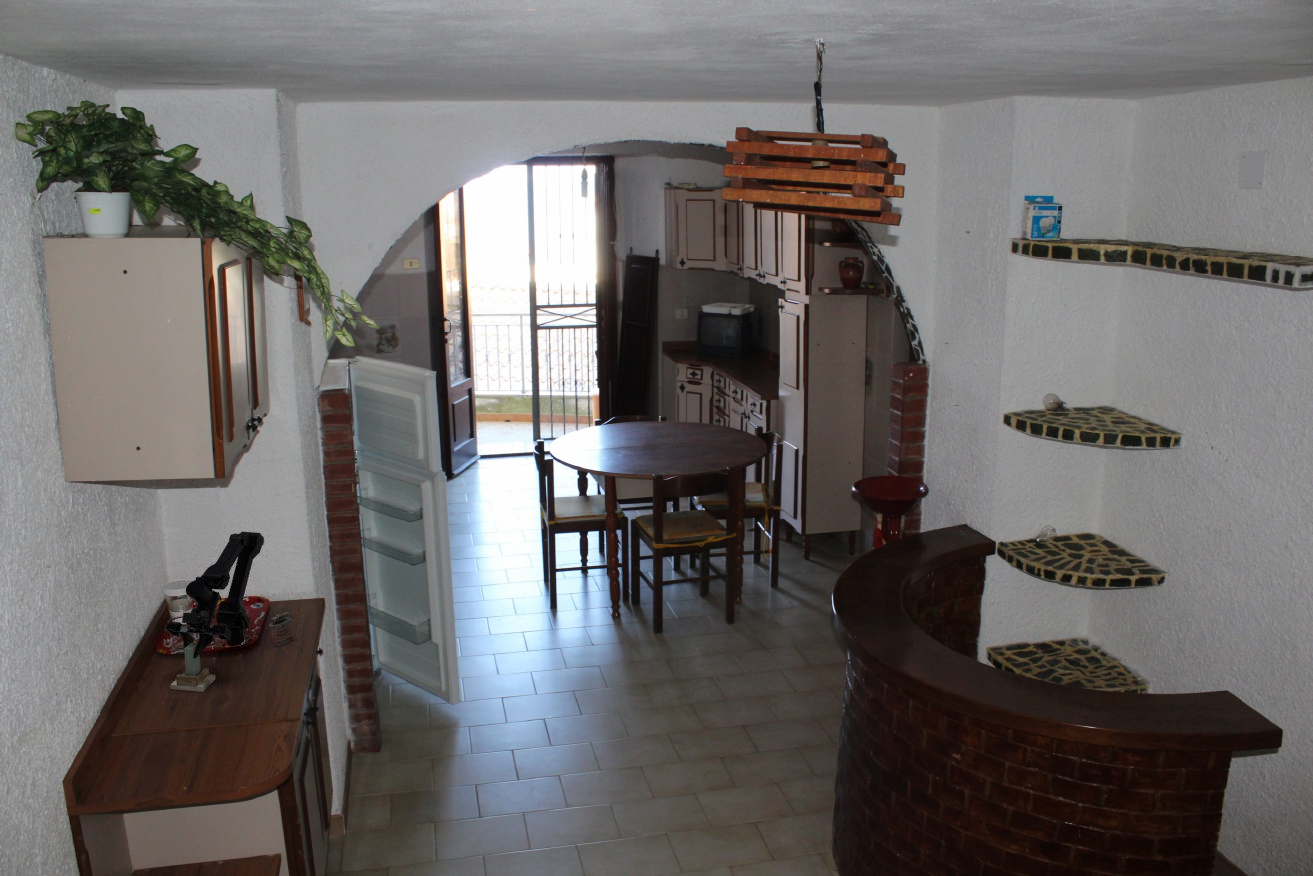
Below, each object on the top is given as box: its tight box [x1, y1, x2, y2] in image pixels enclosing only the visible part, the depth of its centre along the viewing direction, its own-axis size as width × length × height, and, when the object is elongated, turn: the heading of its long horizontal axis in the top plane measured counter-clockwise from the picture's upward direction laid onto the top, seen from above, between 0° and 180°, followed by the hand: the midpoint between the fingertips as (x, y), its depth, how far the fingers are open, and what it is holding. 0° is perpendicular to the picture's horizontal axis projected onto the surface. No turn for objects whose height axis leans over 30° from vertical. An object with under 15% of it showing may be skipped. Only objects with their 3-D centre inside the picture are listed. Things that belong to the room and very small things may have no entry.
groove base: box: [169, 667, 216, 693], centre depth 309 cm, size 8×10×4 cm
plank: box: [183, 642, 202, 676], centre depth 308 cm, size 4×2×10 cm, turn 176°
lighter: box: [268, 611, 293, 648], centre depth 338 cm, size 8×3×10 cm, turn 146°
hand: (189, 657), depth 307 cm, fingers open, 3 cm apart
